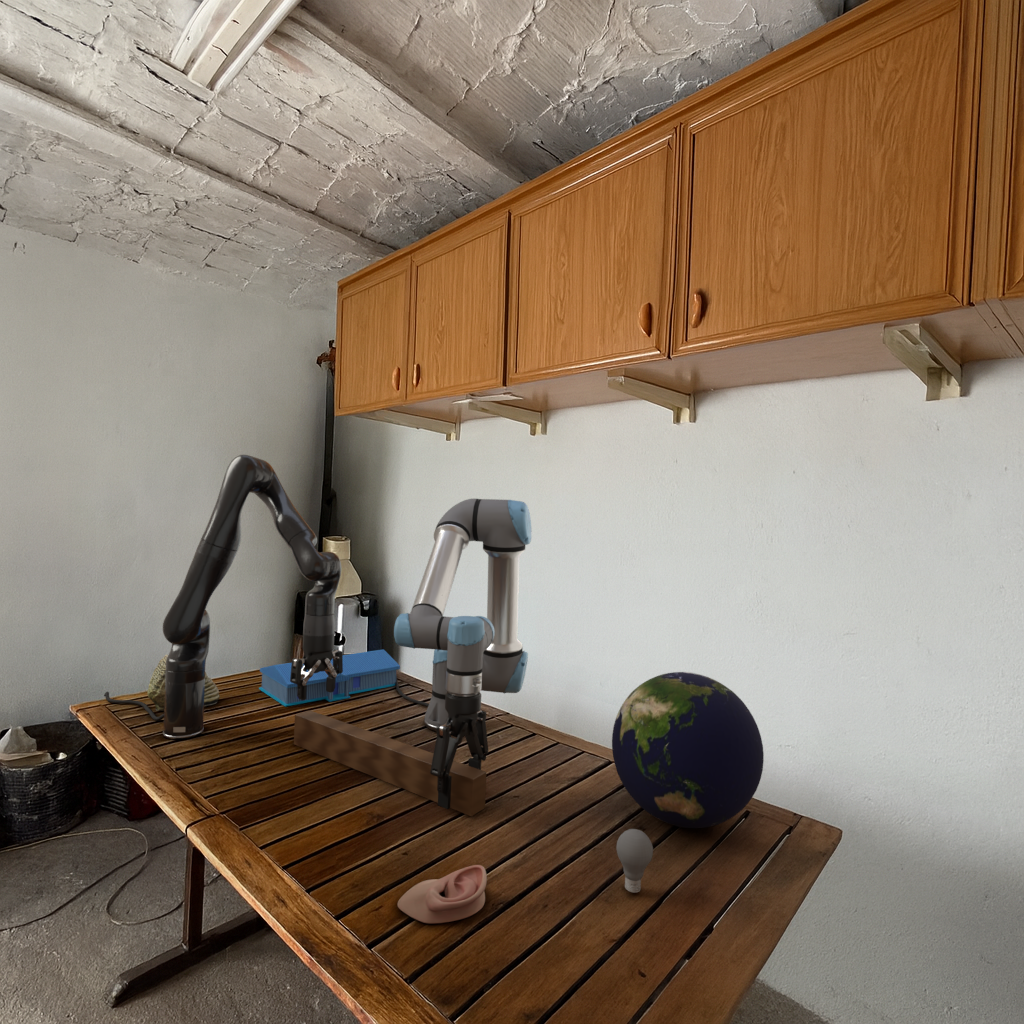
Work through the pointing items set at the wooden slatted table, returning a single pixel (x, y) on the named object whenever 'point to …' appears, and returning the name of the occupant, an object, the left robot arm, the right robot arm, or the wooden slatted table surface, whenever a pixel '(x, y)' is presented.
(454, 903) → the anatomical model
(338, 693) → the model building
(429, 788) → the beam
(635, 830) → the light bulb
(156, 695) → the fossil
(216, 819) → the wooden slatted table surface
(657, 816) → the globe
